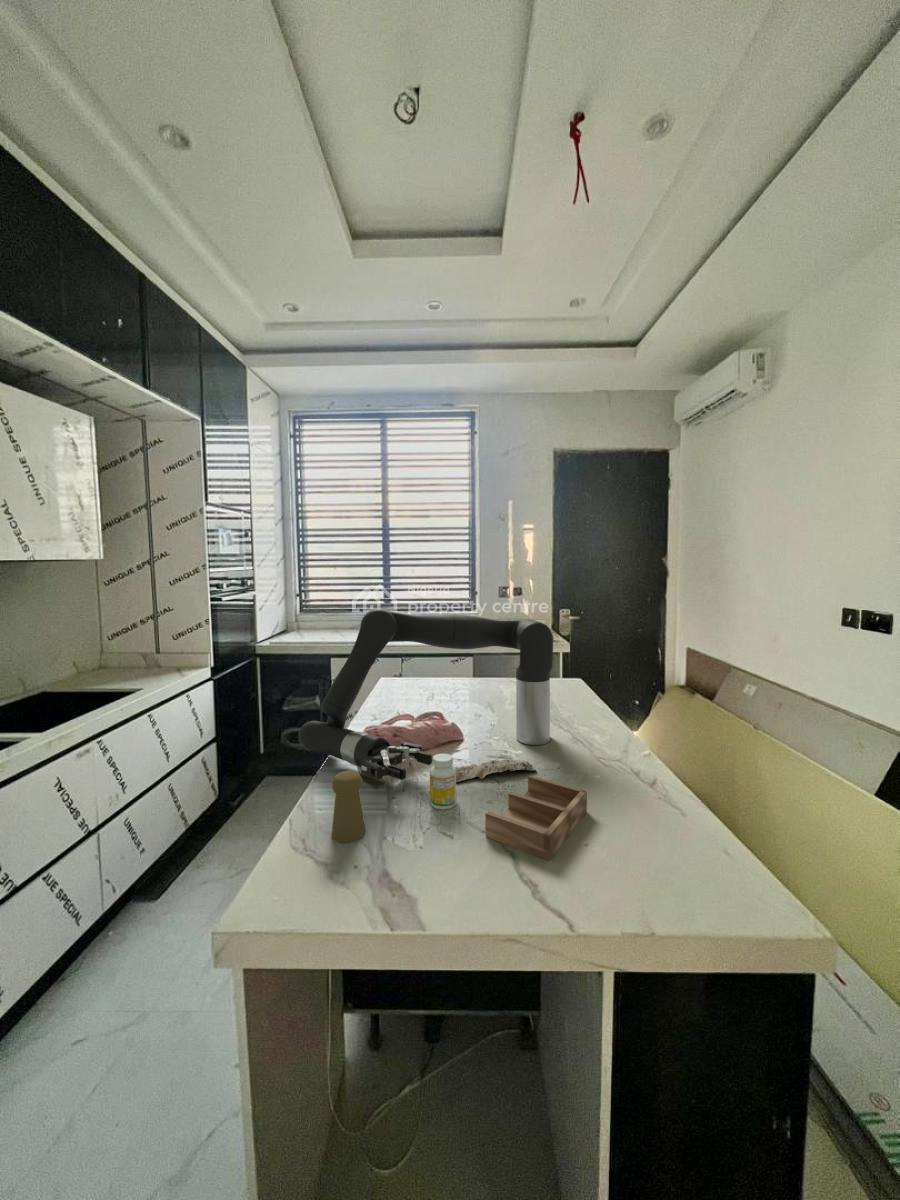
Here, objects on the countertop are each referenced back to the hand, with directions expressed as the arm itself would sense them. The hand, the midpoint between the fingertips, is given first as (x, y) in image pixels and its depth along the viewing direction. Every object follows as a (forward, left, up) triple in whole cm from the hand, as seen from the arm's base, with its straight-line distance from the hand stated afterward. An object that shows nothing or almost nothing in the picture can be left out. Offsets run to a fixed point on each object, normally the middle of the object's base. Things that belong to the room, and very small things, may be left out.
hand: (418, 766), depth 94 cm
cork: (+18, -1, -6) cm, 19 cm away
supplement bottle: (0, +7, -6) cm, 9 cm away
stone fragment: (-16, +6, -7) cm, 18 cm away
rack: (-4, +26, -6) cm, 26 cm away
